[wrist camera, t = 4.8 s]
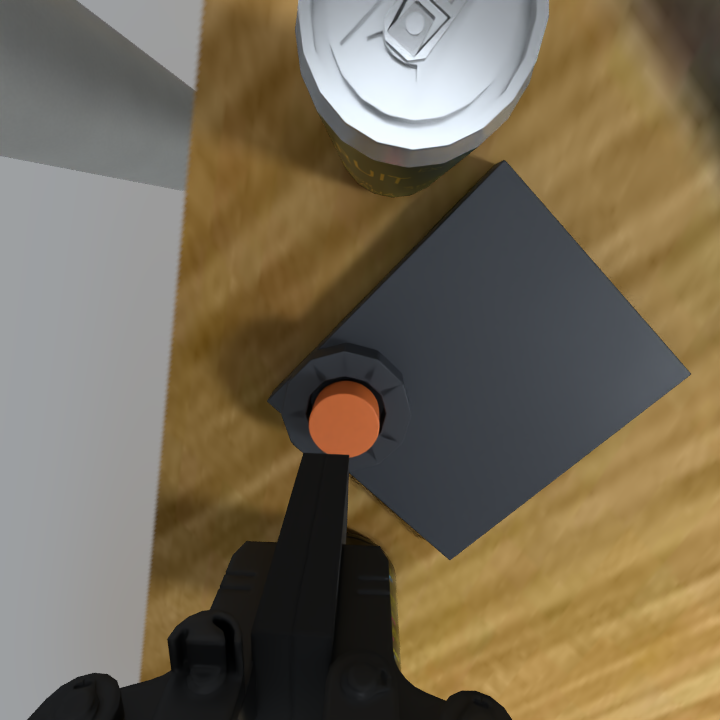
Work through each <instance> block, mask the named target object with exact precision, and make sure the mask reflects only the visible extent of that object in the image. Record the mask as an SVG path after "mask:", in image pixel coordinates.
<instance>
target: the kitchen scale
mask: <svg viewBox="0 0 720 720" xmlns="http://www.w3.org/2000/svg"><path fill="white" fill-rule="evenodd" d="M690 375H691V373H690V372H689V371H688V370H687V369H686V367H685V366H684V365H683V364H682V363H681V362H680V361H679V359H678V358H677V357H676V356H675V355H674V354H673V352H672V351H671V350H670V349H669V348H668V347H667V346H666V344H665V343H664V342H663V341H662V340H661V339H660V338H659V336H658V335H657V334H656V333H655V332H654V331H653V329H652V328H651V327H650V326H649V325H648V324H647V323H646V321H645V320H644V319H643V318H642V317H641V316H640V315H639V313H638V312H637V311H636V310H635V309H634V308H633V307H632V305H631V304H630V303H629V302H628V301H627V300H626V298H625V297H624V296H623V295H622V294H621V293H620V292H619V290H618V289H617V288H616V287H615V286H614V285H613V284H612V282H611V281H610V280H609V279H608V278H607V277H606V276H605V274H604V273H603V272H602V271H601V270H600V269H599V267H598V266H597V265H596V264H595V263H594V262H593V261H592V259H591V258H590V257H589V256H588V255H587V254H586V253H585V251H584V250H583V249H582V248H581V247H580V246H579V244H578V243H577V242H576V241H575V240H574V239H573V238H572V236H571V235H570V234H569V233H568V232H567V231H566V230H565V228H564V227H563V226H562V225H561V224H560V223H559V222H558V220H557V219H556V218H555V217H554V216H553V215H552V213H551V212H550V211H549V210H548V209H547V208H546V207H545V205H544V204H543V203H542V202H541V201H540V200H539V199H538V197H537V196H536V195H535V194H534V193H533V192H532V191H531V189H530V188H529V187H528V186H527V185H526V184H525V182H524V181H523V180H522V179H521V178H520V177H519V176H518V174H517V173H516V172H515V171H514V170H513V169H512V168H511V166H510V165H509V164H508V163H507V162H506V161H505V160H503V161H501V162H499V163H497V164H495V165H494V166H493V167H492V168H491V169H490V170H489V171H488V172H487V174H486V175H485V176H484V177H483V178H482V179H481V180H480V181H479V182H478V183H477V184H476V185H475V186H474V187H473V188H472V189H471V190H470V191H469V192H468V193H467V194H466V195H465V196H464V197H463V198H462V199H461V200H460V201H459V202H458V203H457V204H456V205H455V206H454V207H453V208H452V209H451V210H450V211H449V212H448V213H447V214H446V215H445V216H444V217H443V218H442V219H441V220H440V221H439V222H438V224H437V225H436V226H435V227H434V228H433V229H432V230H431V231H430V232H429V233H428V234H427V235H426V236H425V237H424V238H423V239H422V240H421V241H420V242H419V243H418V244H417V245H416V246H415V247H414V248H413V249H412V250H411V251H410V252H409V253H408V254H407V255H406V256H405V257H404V258H403V259H402V260H401V261H400V262H399V263H398V264H397V265H396V266H395V267H394V268H393V269H392V270H391V271H390V272H389V274H388V275H387V276H386V277H385V278H384V279H383V280H382V281H381V282H380V283H379V284H378V285H377V286H376V287H375V288H374V289H373V290H372V291H371V292H370V293H369V294H368V295H367V296H366V297H365V298H364V299H363V300H362V301H361V302H360V303H359V304H358V305H357V306H356V307H355V308H354V309H353V310H352V311H351V312H350V313H349V314H348V315H347V316H346V317H345V318H344V319H343V320H342V321H341V322H340V324H339V325H338V326H337V327H336V328H335V329H334V330H333V331H332V332H331V333H330V334H329V335H328V336H327V337H326V338H325V339H324V340H323V341H322V342H321V343H320V344H319V345H318V346H317V347H316V348H315V349H314V350H313V351H312V352H311V353H310V354H309V355H308V356H307V357H306V358H305V359H304V360H303V361H302V362H301V363H300V364H299V365H298V366H297V367H296V368H295V369H294V370H293V371H292V372H291V374H290V375H289V376H288V377H287V378H286V379H285V380H284V381H283V382H282V383H281V384H280V385H279V386H278V387H277V388H276V389H275V390H274V391H273V392H272V394H271V395H270V397H269V399H268V400H267V402H268V403H269V404H271V405H272V406H273V407H274V408H275V409H276V410H277V411H279V412H280V413H281V415H282V418H283V421H284V424H285V426H286V429H287V432H288V435H289V437H290V440H291V442H292V443H293V445H295V446H296V447H297V448H298V449H299V450H300V451H301V452H303V453H321V454H327V453H325V452H324V451H322V450H321V449H320V448H319V447H318V446H317V445H316V444H315V443H314V441H313V439H312V437H311V435H310V432H309V417H310V414H311V411H312V408H313V406H314V403H315V400H316V398H317V396H318V394H319V393H320V392H321V391H322V390H323V389H324V388H325V387H326V386H328V385H330V384H332V383H335V382H338V381H353V382H357V383H359V384H362V385H363V386H365V387H366V388H368V389H369V390H370V391H371V392H372V393H373V395H374V396H375V398H376V400H377V402H378V406H379V434H378V437H377V439H376V441H375V443H374V444H373V445H372V446H371V447H370V449H368V450H367V451H366V452H364V453H362V454H360V455H358V456H355V457H350V458H349V473H350V474H351V475H352V476H353V477H354V478H356V479H357V480H358V481H359V482H360V483H361V484H363V485H364V486H365V487H366V488H367V489H368V490H369V491H371V492H372V493H373V494H374V495H375V496H376V497H377V498H379V499H380V500H381V501H382V502H383V503H384V504H386V505H387V506H388V507H389V508H390V509H391V510H392V511H394V512H395V513H396V514H397V515H398V516H399V517H400V518H402V519H403V520H404V521H405V522H406V523H407V524H409V525H410V526H411V527H412V528H413V529H414V530H415V531H417V532H418V533H419V534H420V535H421V536H422V537H423V538H425V539H426V540H427V541H428V542H429V543H430V544H432V545H433V546H434V547H435V548H436V549H437V550H438V551H440V552H441V553H442V554H443V555H444V556H445V557H446V558H448V559H449V560H451V559H452V558H454V557H455V556H456V555H458V554H459V553H460V552H461V551H463V550H464V549H465V548H467V547H468V546H469V545H471V544H472V543H473V542H474V541H476V540H477V539H478V538H480V537H481V536H482V535H484V534H485V533H486V532H487V531H489V530H490V529H491V528H493V527H494V526H495V525H496V524H498V523H499V522H500V521H502V520H503V519H504V518H506V517H507V516H508V515H509V514H511V513H512V512H513V511H515V510H516V509H517V508H519V507H520V506H521V505H522V504H524V503H525V502H526V501H528V500H529V499H530V498H532V497H533V496H534V495H535V494H537V493H538V492H539V491H541V490H542V489H543V488H544V487H546V486H547V485H548V484H550V483H551V482H552V481H554V480H555V479H556V478H557V477H559V476H560V475H561V474H563V473H564V472H565V471H567V470H568V469H569V468H570V467H572V466H573V465H574V464H576V463H577V462H578V461H580V460H581V459H582V458H583V457H585V456H586V455H587V454H589V453H590V452H591V451H592V450H594V449H595V448H596V447H598V446H599V445H600V444H602V443H603V442H604V441H605V440H607V439H608V438H609V437H611V436H612V435H613V434H615V433H616V432H617V431H618V430H620V429H621V428H622V427H624V426H625V425H626V424H628V423H629V422H630V421H631V420H633V419H634V418H635V417H637V416H638V415H639V414H640V413H642V412H643V411H644V410H646V409H647V408H648V407H650V406H651V405H652V404H653V403H655V402H656V401H657V400H659V399H660V398H661V397H663V396H664V395H665V394H666V393H668V392H669V391H670V390H672V389H673V388H674V387H676V386H677V385H678V384H679V383H681V382H682V381H683V380H685V379H686V378H687V377H688V376H690Z"/></svg>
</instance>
